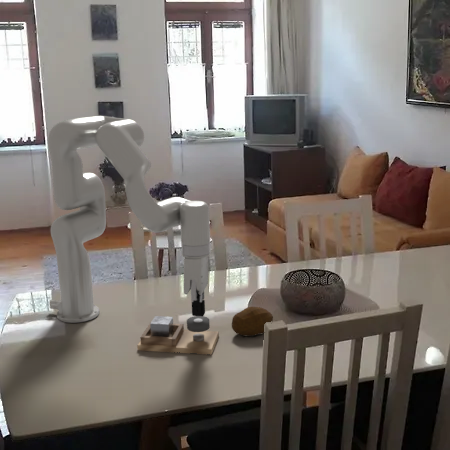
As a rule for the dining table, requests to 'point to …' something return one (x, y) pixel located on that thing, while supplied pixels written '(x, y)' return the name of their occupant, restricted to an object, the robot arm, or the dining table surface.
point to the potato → (251, 321)
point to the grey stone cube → (162, 326)
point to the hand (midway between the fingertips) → (198, 314)
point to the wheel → (198, 324)
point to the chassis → (179, 341)
